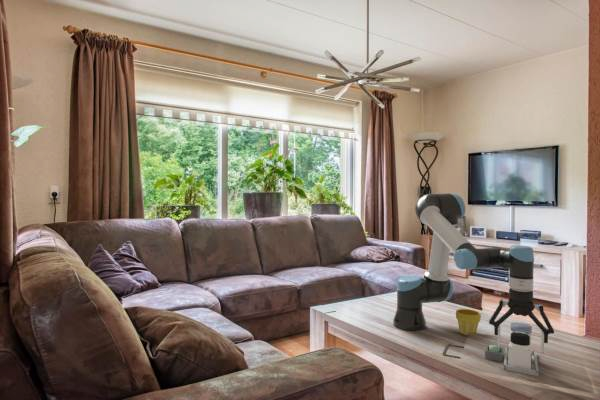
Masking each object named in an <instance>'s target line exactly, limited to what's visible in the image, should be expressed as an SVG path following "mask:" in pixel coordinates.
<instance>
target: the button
mask: <svg viewBox="0 0 600 400" xmlns="http://www.w3.org/2000/svg"><path fill="white" fill-rule="evenodd" d="M488 346H489V351H494V352H500V348H501V347H500V346H499V345H498V344H497V345H496V344H489V345H488Z"/></svg>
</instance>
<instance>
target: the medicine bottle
mask: <svg viewBox="0 0 600 400" xmlns="http://www.w3.org/2000/svg"><path fill="white" fill-rule="evenodd" d="M508 347H509V349H508V366H514V367H519V368H525V369H530V370H532V350H533V349H532V345H531V346H530V336H529V335H527V334H526V333H523V332H512V333H511V332H510V342H509V343H508Z"/></svg>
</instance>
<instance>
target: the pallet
mask: <svg viewBox="0 0 600 400" xmlns="http://www.w3.org/2000/svg"><path fill="white" fill-rule="evenodd" d="M508 349H509V345H508V346H507V345H505V346H504V348H503V347H500V352H494V351H489V345H485V350H484V355H485V357H484V360H485V359H486V360H490V361H491V360H492V361H496V362H497V361H498V362H502V363H503V370H504V371H509V372H515V373H520V374H524V375H531V376H535V377H539V373H540V370H539V363H538V362H539V361H538V355H537V350H533V349H532V370H530V369H525V368H519V367H514V366H508Z"/></svg>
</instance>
